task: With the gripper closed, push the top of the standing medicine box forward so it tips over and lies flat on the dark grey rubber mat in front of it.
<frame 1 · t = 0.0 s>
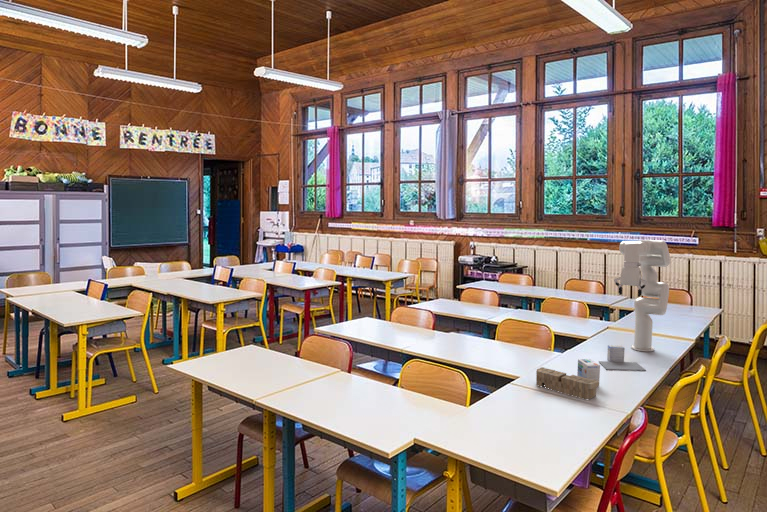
hand: (629, 295, 296), 37 cm above the table, tool pointing down, fingers open, 9 cm apart
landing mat: (621, 366, 290), on the table
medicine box: (615, 361, 300), on the table
light bulb box: (588, 383, 262), on the table
brown segmented bar: (564, 391, 252), on the table
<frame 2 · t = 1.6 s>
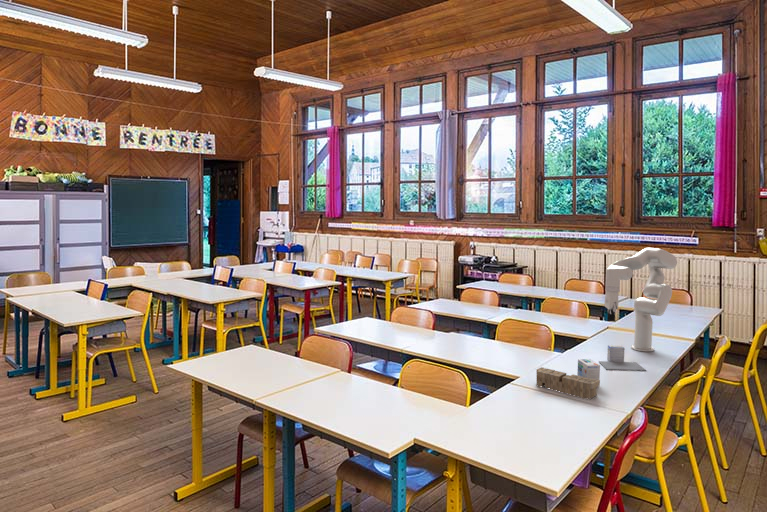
hand: (611, 320, 307), 21 cm above the table, tool pointing down, fingers closed
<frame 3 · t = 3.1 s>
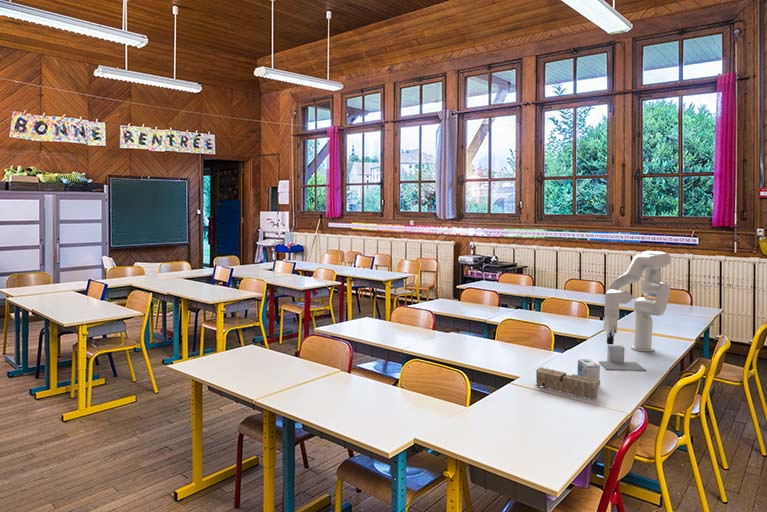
hand: (610, 343, 309), 7 cm above the table, tool pointing down, fingers closed
nothing on the table moved.
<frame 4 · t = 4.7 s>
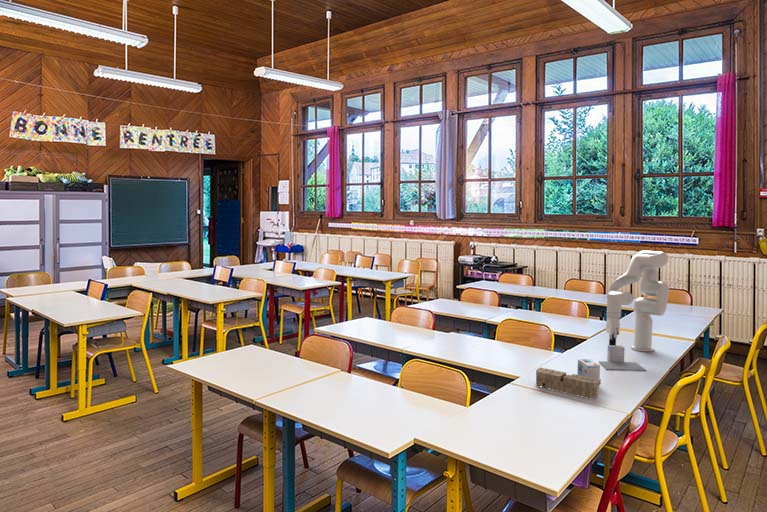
hand: (612, 345, 305), 7 cm above the table, tool pointing down, fingers closed
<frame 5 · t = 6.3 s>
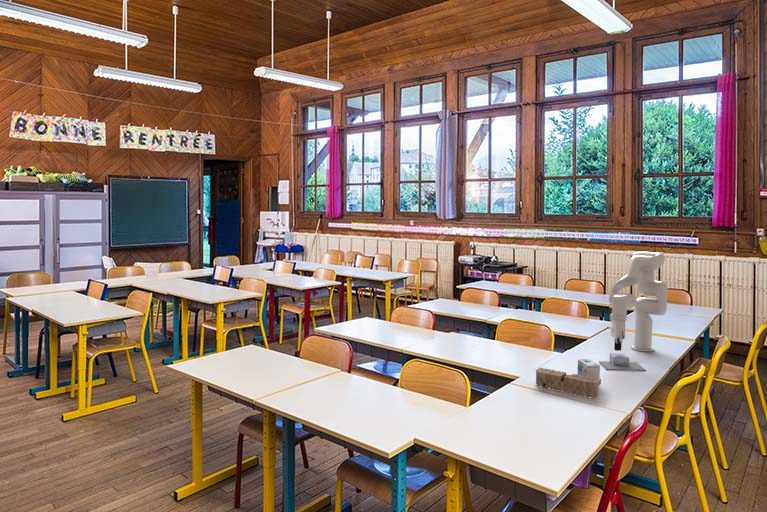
hand: (617, 350, 296), 7 cm above the table, tool pointing down, fingers closed
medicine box: (616, 357, 298), point 3 cm above the table, touching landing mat
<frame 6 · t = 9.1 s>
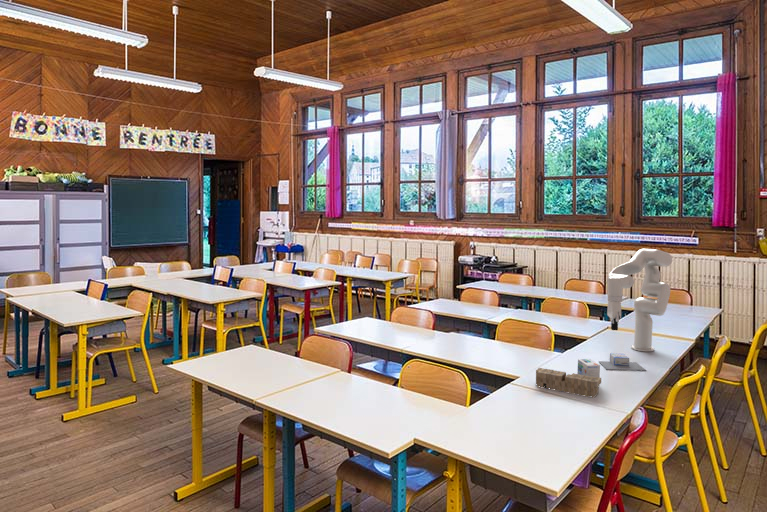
hand: (614, 329, 304), 16 cm above the table, tool pointing down, fingers closed
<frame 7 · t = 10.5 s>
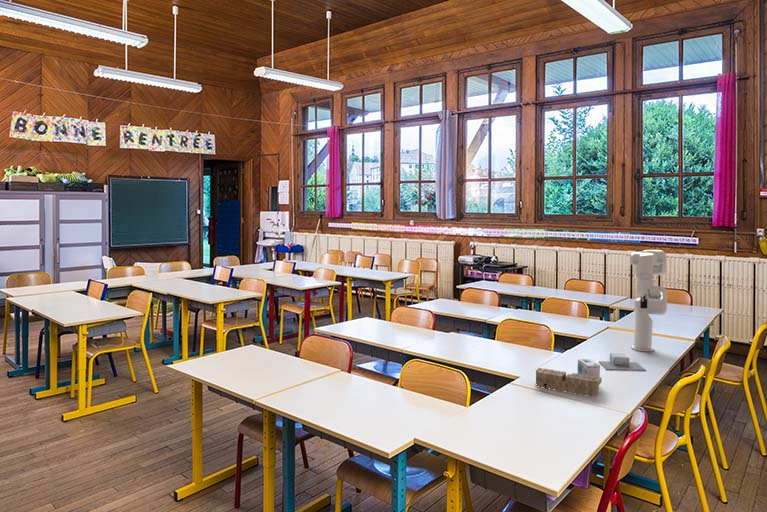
hand: (643, 308, 303), 29 cm above the table, tool pointing down, fingers closed
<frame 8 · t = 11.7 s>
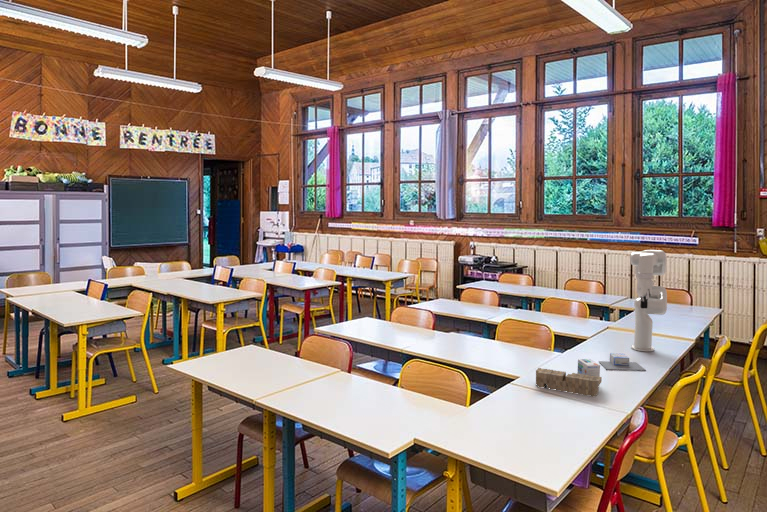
hand: (643, 308, 303), 29 cm above the table, tool pointing down, fingers closed
at the end: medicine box tilted 89°; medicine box touching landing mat; the gripper is holding nothing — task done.
